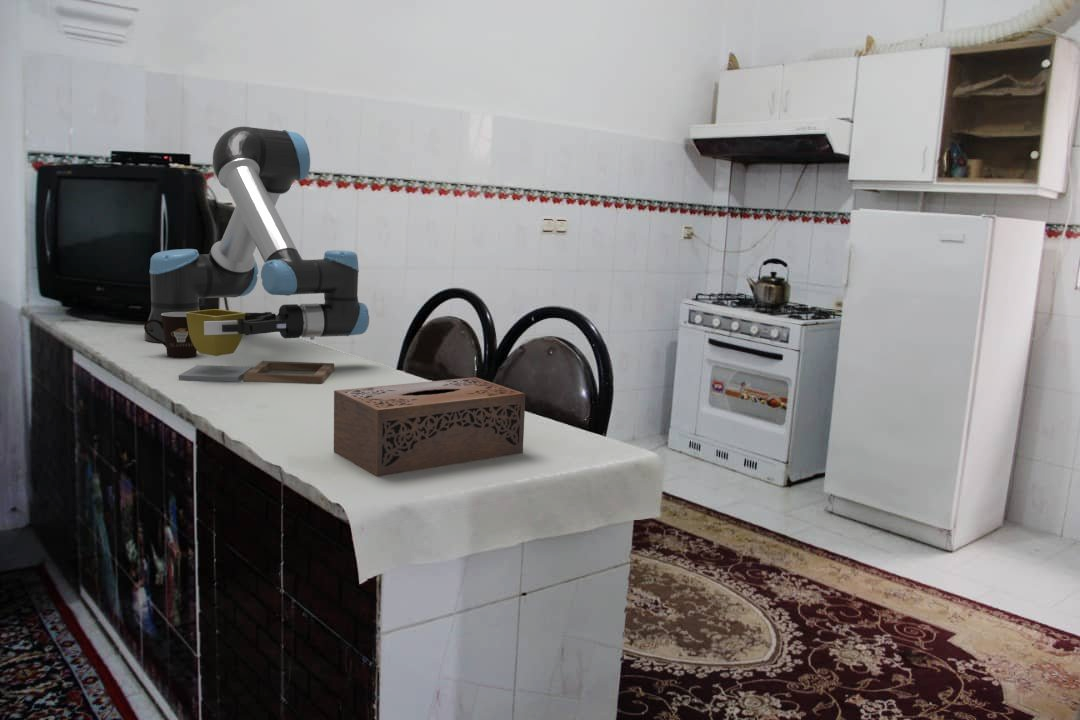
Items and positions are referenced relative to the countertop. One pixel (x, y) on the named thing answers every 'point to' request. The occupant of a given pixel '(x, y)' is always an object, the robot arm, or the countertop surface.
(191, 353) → the coffee mug
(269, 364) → the board
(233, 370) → the mat
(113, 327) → the countertop surface
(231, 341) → the flower pot
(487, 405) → the tissue box cover
